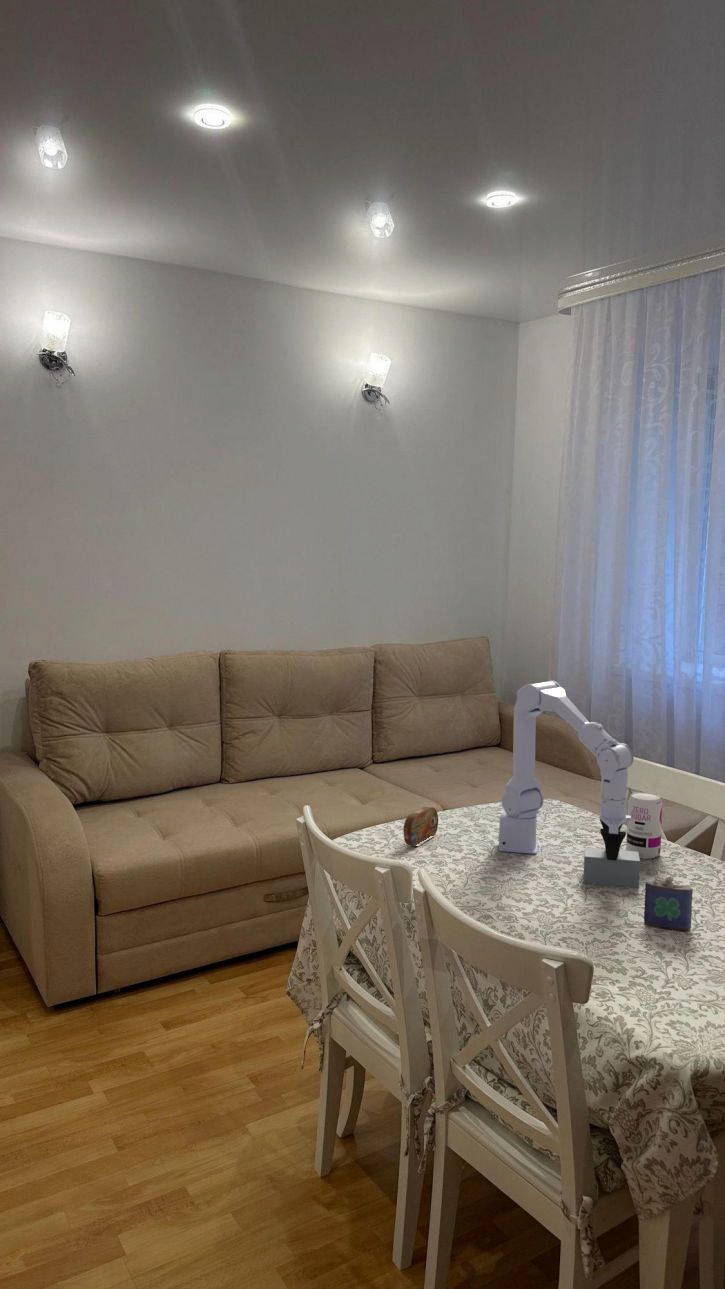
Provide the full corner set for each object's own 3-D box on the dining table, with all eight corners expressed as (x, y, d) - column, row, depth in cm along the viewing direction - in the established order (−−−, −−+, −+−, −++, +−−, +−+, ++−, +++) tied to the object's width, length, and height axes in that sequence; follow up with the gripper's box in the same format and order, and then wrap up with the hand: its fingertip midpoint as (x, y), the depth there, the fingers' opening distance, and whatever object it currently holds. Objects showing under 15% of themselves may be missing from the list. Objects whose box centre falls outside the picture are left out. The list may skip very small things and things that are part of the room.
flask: (691, 927, 186) (693, 877, 185) (690, 933, 184) (692, 882, 182) (644, 920, 190) (646, 871, 188) (642, 926, 187) (644, 876, 186)
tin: (411, 851, 230) (412, 819, 229) (401, 849, 232) (401, 817, 231) (439, 834, 243) (439, 804, 242) (428, 832, 245) (429, 802, 244)
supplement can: (656, 849, 232) (658, 791, 230) (663, 860, 224) (666, 801, 222) (623, 847, 233) (625, 791, 231) (629, 859, 225) (631, 800, 223)
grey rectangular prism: (583, 883, 210) (584, 856, 209) (583, 873, 216) (584, 847, 215) (638, 888, 207) (639, 861, 206) (637, 878, 213) (638, 851, 212)
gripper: (633, 807, 201) (630, 866, 203) (630, 789, 215) (627, 844, 217) (600, 805, 202) (598, 863, 204) (599, 787, 216) (597, 842, 218)
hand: (611, 853), depth 210 cm, fingers open, 7 cm apart
